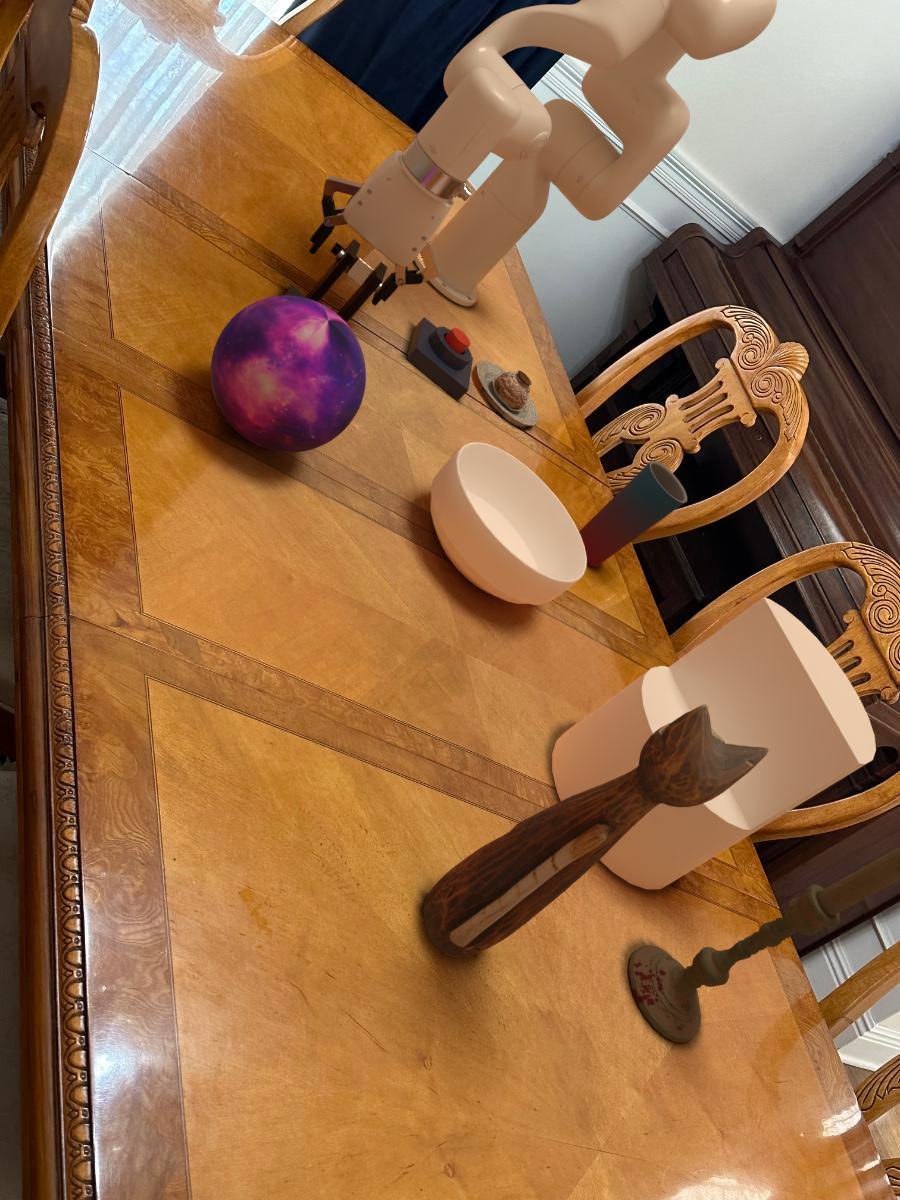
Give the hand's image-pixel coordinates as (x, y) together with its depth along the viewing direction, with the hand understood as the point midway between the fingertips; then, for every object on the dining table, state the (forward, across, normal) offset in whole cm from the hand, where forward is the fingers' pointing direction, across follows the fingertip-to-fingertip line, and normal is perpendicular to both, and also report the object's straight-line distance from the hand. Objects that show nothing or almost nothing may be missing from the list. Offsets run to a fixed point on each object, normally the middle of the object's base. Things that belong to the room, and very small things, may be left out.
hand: (343, 275), depth 144 cm
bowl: (+4, -28, +28) cm, 40 cm away
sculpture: (+4, -30, +78) cm, 84 cm away
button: (+1, -18, -8) cm, 19 cm away
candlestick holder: (+4, -55, +72) cm, 91 cm away
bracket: (+4, 0, +10) cm, 10 cm away
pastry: (+5, -30, -14) cm, 33 cm away
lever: (-3, 0, +5) cm, 6 cm away
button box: (+5, -18, -8) cm, 20 cm away
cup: (+5, -46, +10) cm, 47 cm away
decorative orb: (+4, +2, +36) cm, 36 cm away
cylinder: (+4, -50, +52) cm, 72 cm away
